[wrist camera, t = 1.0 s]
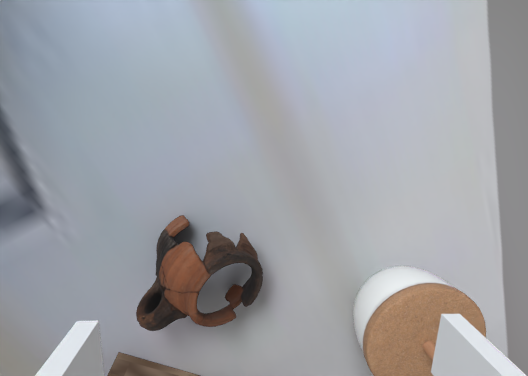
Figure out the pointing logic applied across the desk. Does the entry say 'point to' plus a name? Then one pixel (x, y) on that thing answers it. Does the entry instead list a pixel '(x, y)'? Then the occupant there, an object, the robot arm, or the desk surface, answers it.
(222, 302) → the desk surface
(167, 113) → the desk surface
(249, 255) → the broken clay pot
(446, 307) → the lidded jar
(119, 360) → the walnut tray
